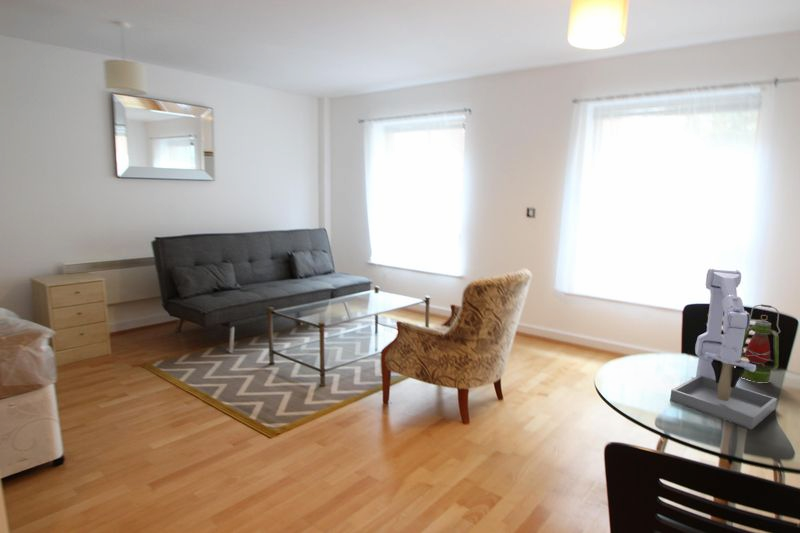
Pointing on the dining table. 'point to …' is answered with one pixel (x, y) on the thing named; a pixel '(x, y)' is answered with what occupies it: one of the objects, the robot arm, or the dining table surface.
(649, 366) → the dining table surface
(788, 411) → the dining table surface
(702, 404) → the bin
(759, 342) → the lantern
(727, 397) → the handle
